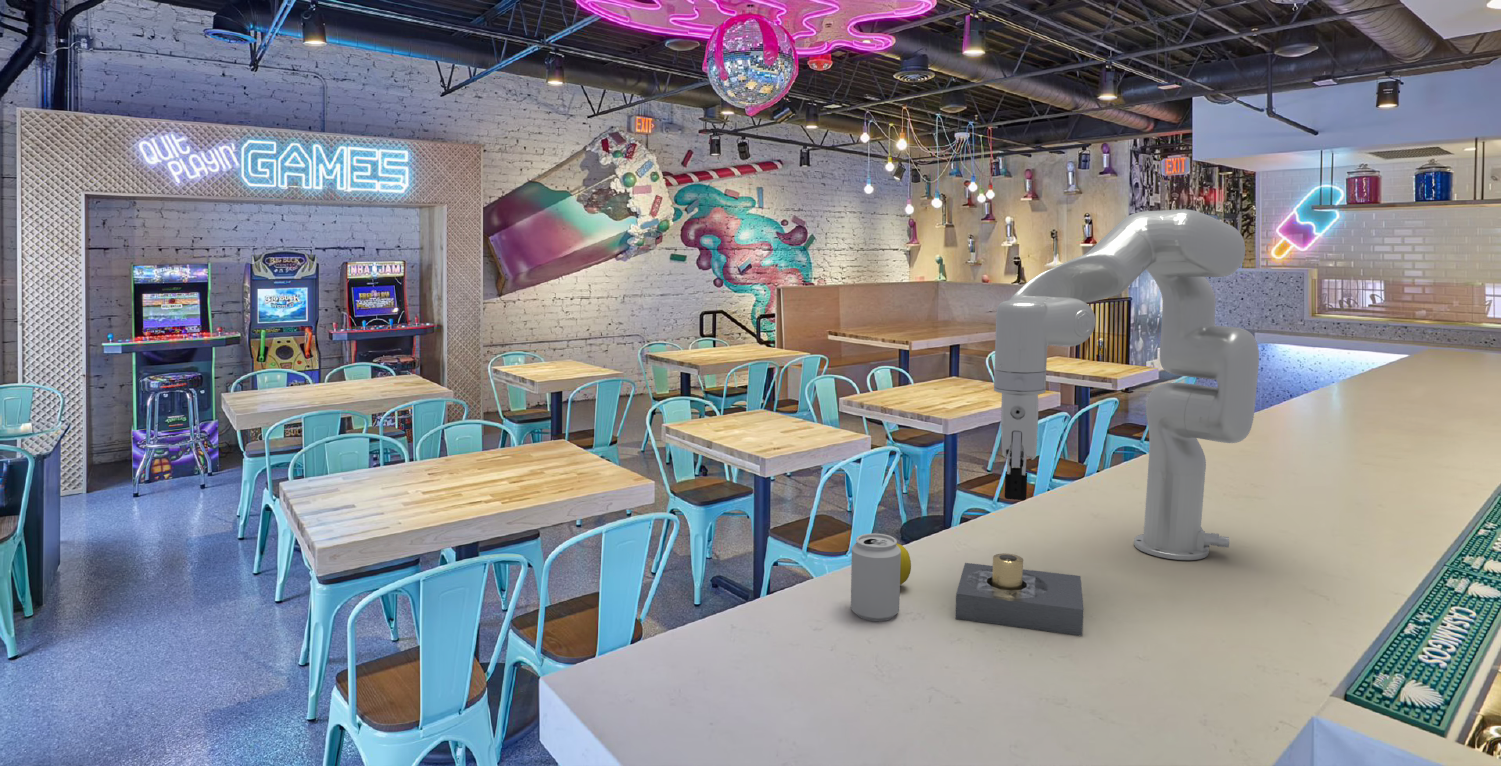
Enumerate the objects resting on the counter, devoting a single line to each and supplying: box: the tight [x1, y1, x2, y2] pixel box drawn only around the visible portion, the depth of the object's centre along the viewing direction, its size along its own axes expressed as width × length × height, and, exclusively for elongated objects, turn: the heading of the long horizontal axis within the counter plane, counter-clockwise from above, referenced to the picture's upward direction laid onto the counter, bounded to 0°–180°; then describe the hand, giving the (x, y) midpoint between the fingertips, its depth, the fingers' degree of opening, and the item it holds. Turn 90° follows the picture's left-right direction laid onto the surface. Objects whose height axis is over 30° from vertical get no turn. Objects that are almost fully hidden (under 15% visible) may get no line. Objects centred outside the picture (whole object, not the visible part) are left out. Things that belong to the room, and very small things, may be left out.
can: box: [850, 533, 901, 622], centre depth 130 cm, size 8×8×12 cm
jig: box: [954, 562, 1084, 637], centre depth 132 cm, size 18×14×4 cm
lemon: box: [896, 542, 912, 586], centre depth 140 cm, size 6×6×8 cm
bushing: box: [992, 552, 1024, 591], centre depth 132 cm, size 4×4×8 cm
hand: (1015, 498), depth 131 cm, fingers closed
